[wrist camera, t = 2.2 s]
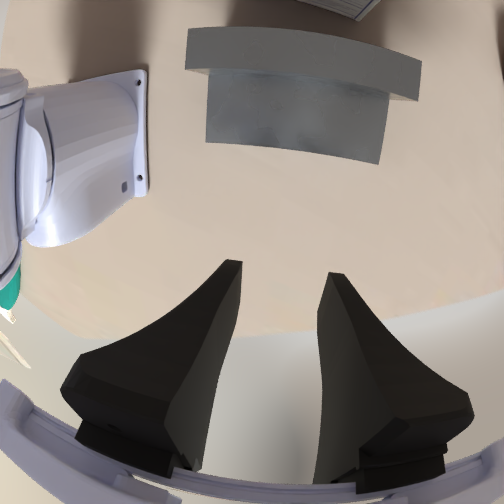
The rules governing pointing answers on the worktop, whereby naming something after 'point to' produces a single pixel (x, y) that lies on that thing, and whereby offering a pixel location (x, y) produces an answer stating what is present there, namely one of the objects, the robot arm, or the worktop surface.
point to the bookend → (299, 89)
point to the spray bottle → (10, 296)
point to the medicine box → (345, 6)
